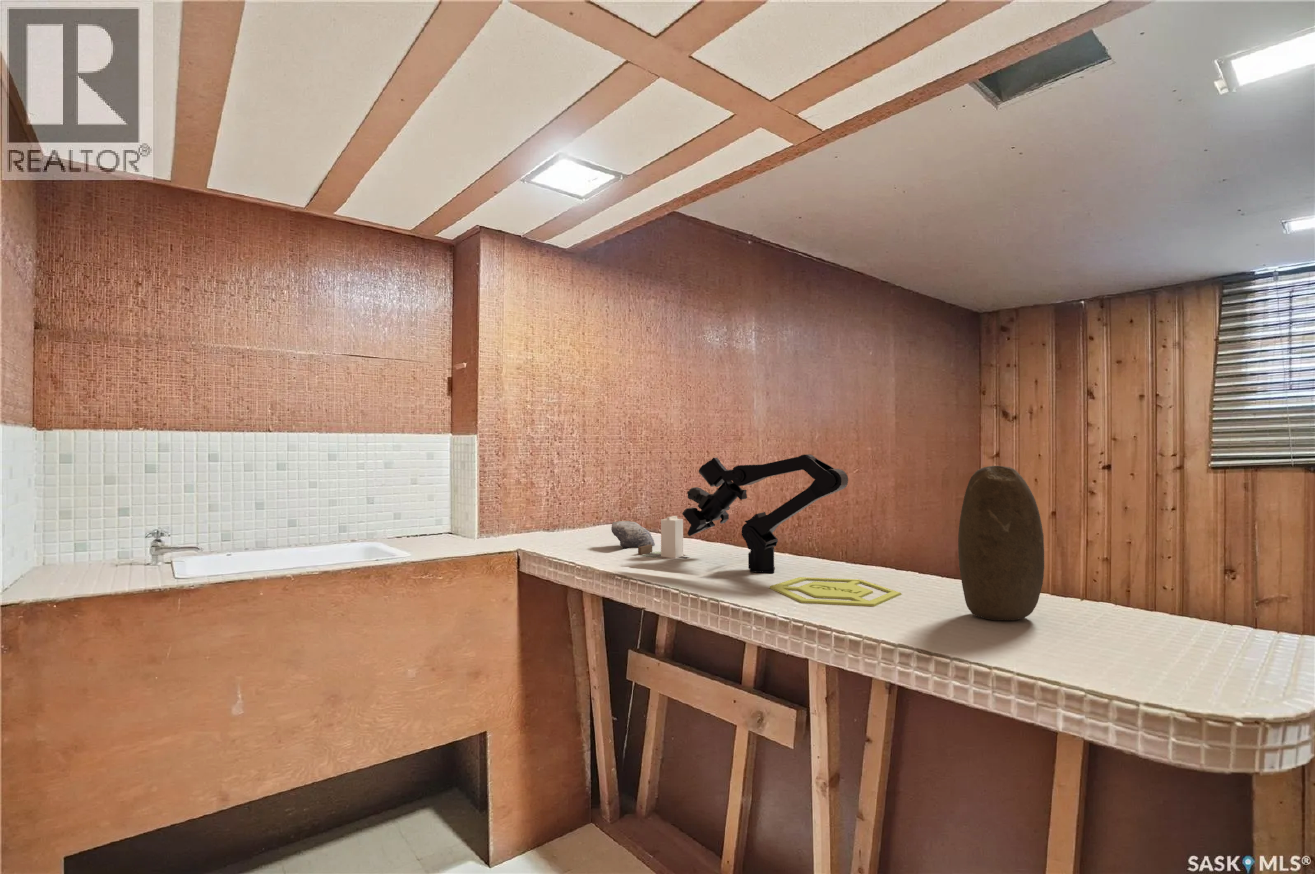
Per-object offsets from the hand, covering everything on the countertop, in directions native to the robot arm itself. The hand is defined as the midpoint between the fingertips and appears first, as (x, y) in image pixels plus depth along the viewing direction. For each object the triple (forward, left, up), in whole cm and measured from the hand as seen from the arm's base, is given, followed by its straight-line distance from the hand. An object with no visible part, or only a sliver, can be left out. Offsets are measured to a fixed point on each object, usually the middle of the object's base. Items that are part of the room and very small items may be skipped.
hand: (688, 534), depth 185 cm
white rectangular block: (+5, -2, -7) cm, 9 cm away
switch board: (+8, -3, -8) cm, 12 cm away
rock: (+23, -22, -8) cm, 33 cm away
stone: (-71, +46, -8) cm, 85 cm away
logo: (-40, +29, -9) cm, 50 cm away
